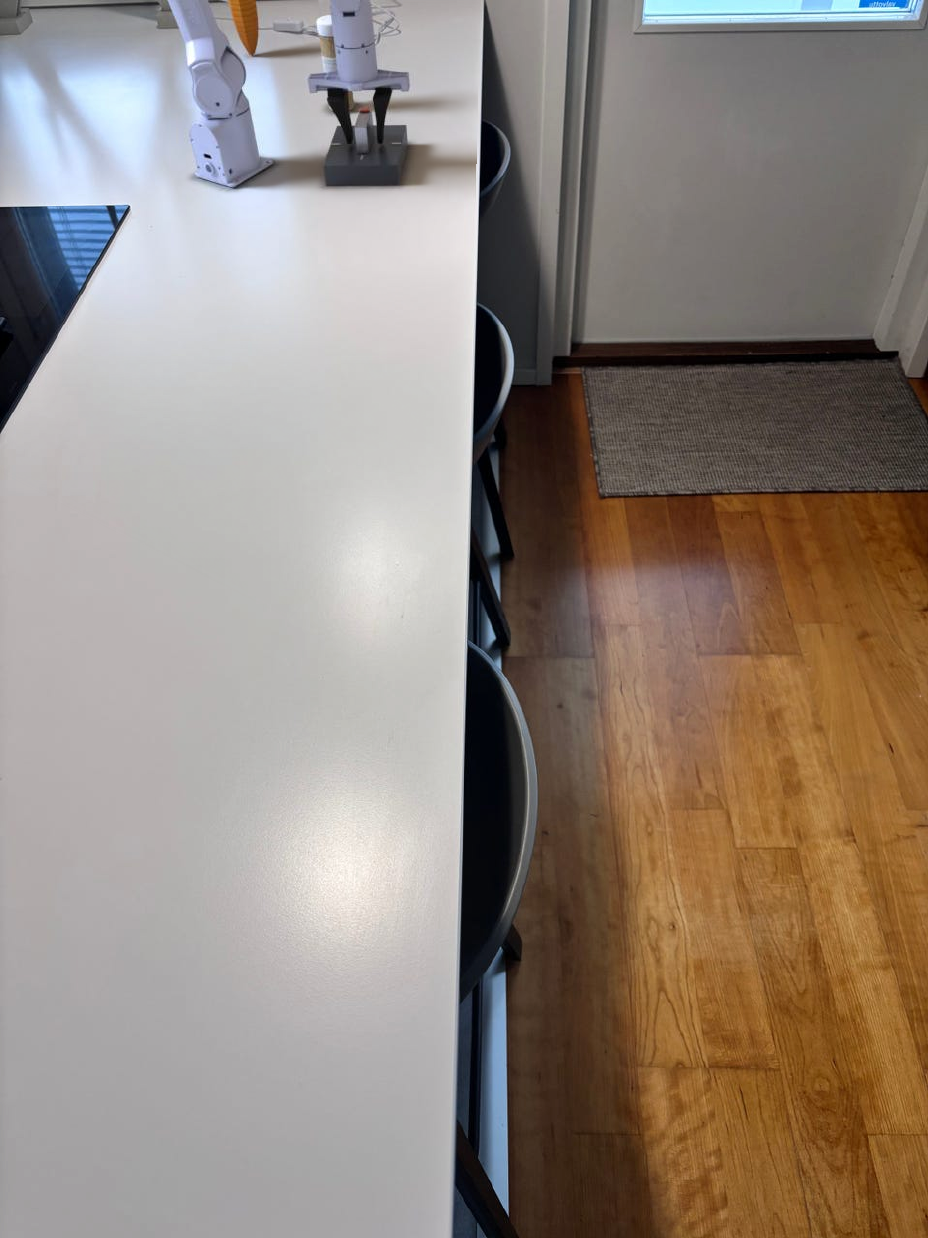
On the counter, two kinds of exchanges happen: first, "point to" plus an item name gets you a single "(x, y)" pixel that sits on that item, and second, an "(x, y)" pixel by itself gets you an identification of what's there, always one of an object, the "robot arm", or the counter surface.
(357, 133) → the tap handle
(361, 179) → the base
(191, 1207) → the counter surface
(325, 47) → the sprinkles bottle
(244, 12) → the carrot
